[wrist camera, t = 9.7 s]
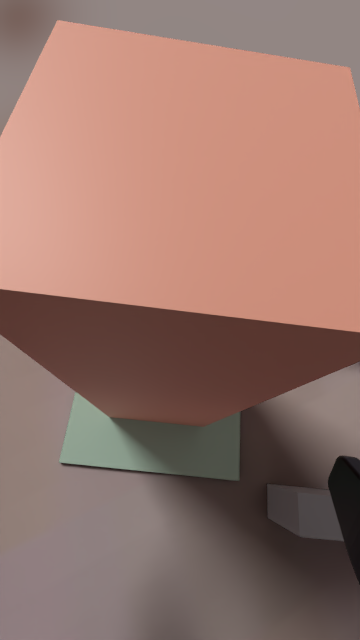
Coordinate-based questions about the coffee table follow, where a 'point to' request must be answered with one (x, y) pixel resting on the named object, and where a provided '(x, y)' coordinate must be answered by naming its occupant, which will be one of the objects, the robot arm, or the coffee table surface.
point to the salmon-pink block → (180, 223)
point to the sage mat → (151, 444)
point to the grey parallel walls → (303, 511)
